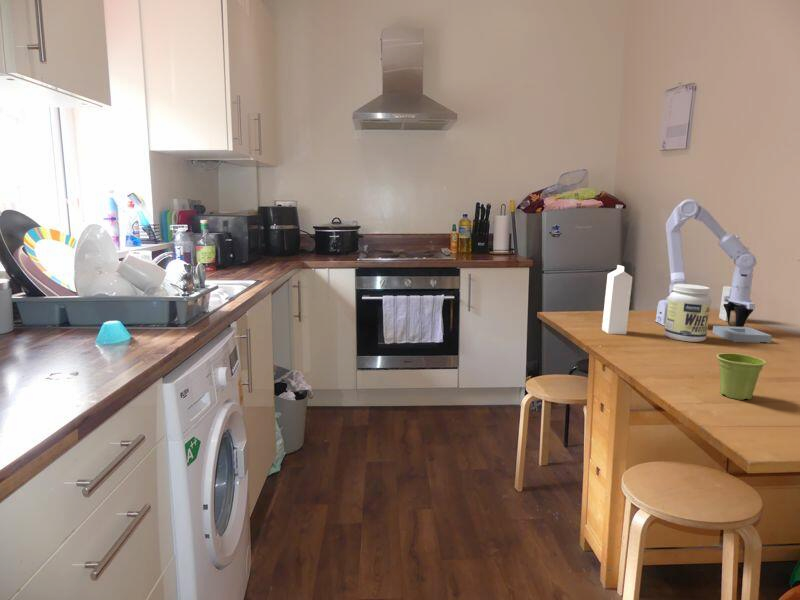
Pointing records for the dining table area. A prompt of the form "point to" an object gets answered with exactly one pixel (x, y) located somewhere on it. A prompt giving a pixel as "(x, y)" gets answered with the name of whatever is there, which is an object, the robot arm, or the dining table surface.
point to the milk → (617, 301)
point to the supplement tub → (688, 313)
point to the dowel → (732, 319)
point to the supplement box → (722, 310)
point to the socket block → (741, 334)
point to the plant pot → (738, 374)
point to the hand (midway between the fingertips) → (735, 326)
